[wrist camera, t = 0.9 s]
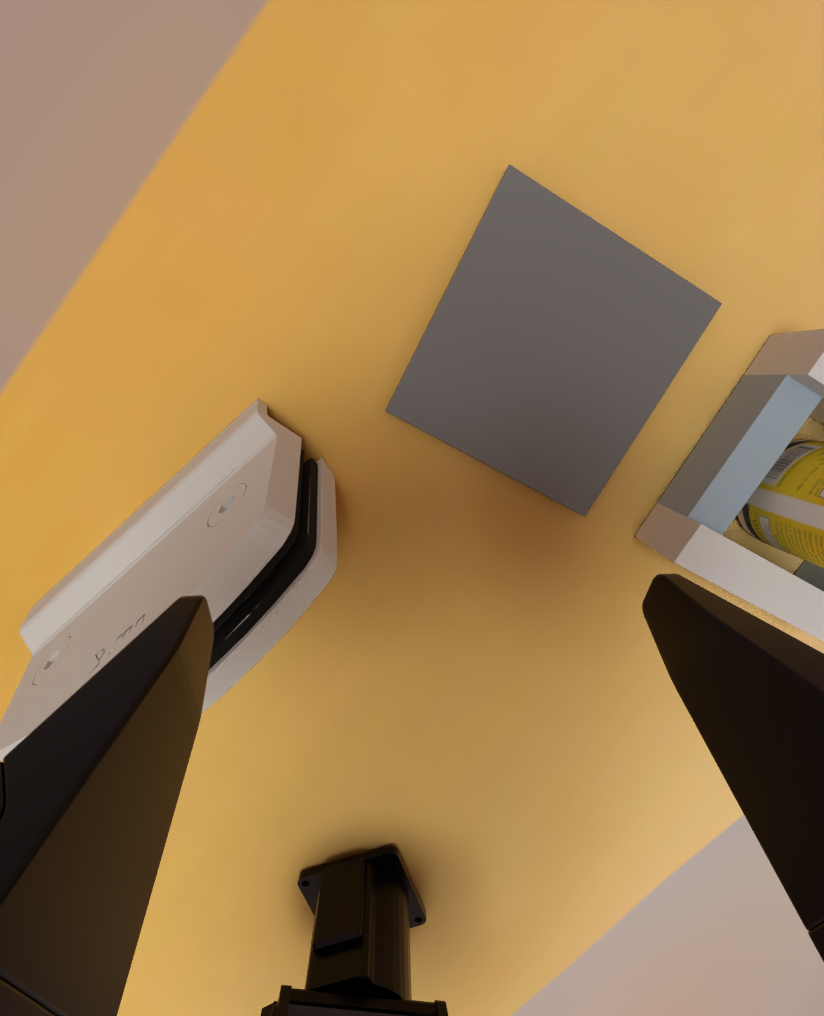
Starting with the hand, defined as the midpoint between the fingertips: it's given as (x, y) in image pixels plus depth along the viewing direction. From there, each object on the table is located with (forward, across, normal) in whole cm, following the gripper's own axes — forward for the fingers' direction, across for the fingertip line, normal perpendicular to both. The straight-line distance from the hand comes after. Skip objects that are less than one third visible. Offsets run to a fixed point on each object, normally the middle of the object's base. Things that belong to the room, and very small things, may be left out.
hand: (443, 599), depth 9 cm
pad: (+14, -7, -1) cm, 16 cm away
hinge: (+13, +9, +9) cm, 18 cm away
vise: (+12, -21, +2) cm, 24 cm away
